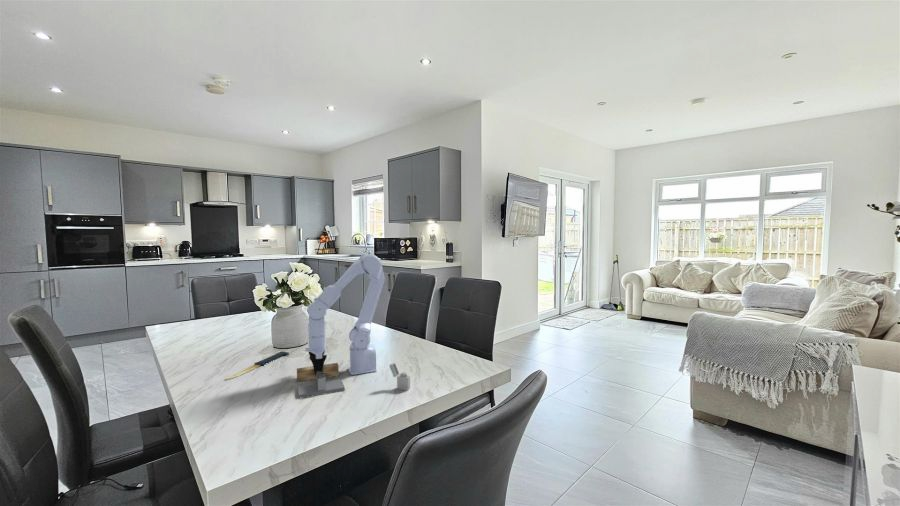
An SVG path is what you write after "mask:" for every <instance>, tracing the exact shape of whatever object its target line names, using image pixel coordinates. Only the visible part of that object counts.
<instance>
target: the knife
mask: <svg viewBox="0 0 900 506" xmlns="http://www.w3.org/2000/svg"><path fill="white" fill-rule="evenodd" d="M289 355H290V352H288V351H280V352H277V353H276V354H273V355H271V356H268V357H266V358H263V359H261V360H259V361H256V362H254V364H253V365H251V366H248V367H245V368H243V369H241V370H239V371H237V372H234V373H232V374H231V375H229V376H228V375H227V377H226V378H225V381H229V380H232V379H235V377H236V378H238V377H240V376H242V375H244V373H245V374H247V373H249V372H251V371H254V370H256V369H259V368H260V366H263V367H265V366H264V365H267V364H266V363H268V364H270V363H272V362H274V361H276V360H279V359H280V358H282V357H287V356H289ZM273 360H274V361H273ZM271 361H272V362H271ZM269 362H270V363H269ZM255 368H256V369H255ZM246 372H247V373H246Z"/></svg>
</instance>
